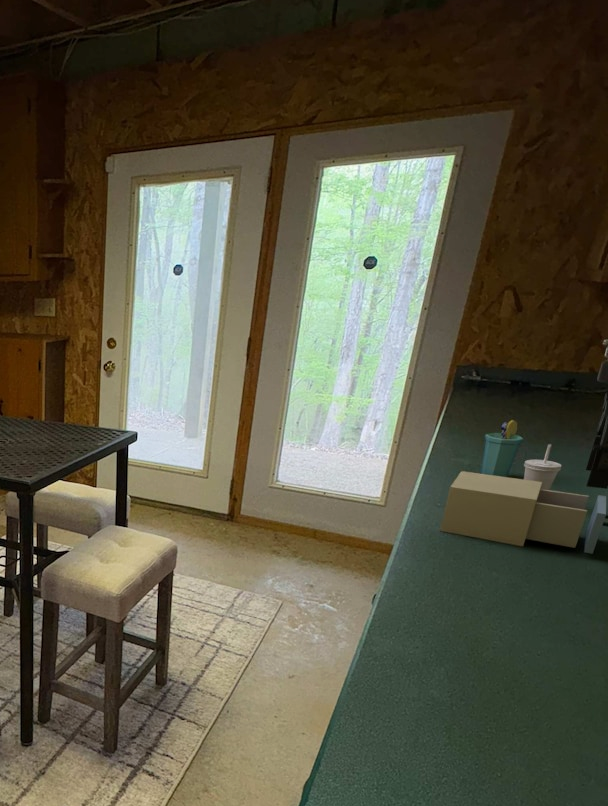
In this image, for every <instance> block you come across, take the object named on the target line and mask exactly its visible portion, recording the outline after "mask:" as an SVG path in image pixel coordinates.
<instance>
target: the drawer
mask: <svg viewBox="0 0 608 806" xmlns="http://www.w3.org/2000/svg"><path fill="white" fill-rule="evenodd" d="M589 497H590V496H589V495H588V494H580V493H579V494H578V493H572V492H566V491H558V490H551V489H550V490H545V489H540V491H539V495H538V498H537V501H536V505H535V508H534V511H533V515H532V518H531V522H530V525H529V528H528V532H527V535H526V539H525V540H530V541H535V542H541V543H546V544H552V545H557V546H563V547H567V548H568V547H569V548H572V549H573V548H574V549H575V548H576V547H577V544H578V541H579V538H580V535H581V532H582V529H583V526H584V522H585V520H586V517H587V515H588V514H587V513H588V509H586V506H587V503H588V500H589ZM605 519H607V520H608V514H607V495H601V494H598V495H597V497H596V500H595V503H594V506H593V510H592V512H591V516H590V519H589V521H588V524H587V528H586V529H585V537H584V548H583V549H584V550H583V553H586V554H591V555H593V554H594V551H595V549H596V546H597V542H598V540H599V536H600V533H601V531H602V528H603V527H608V522H606V521H605Z"/></svg>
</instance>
